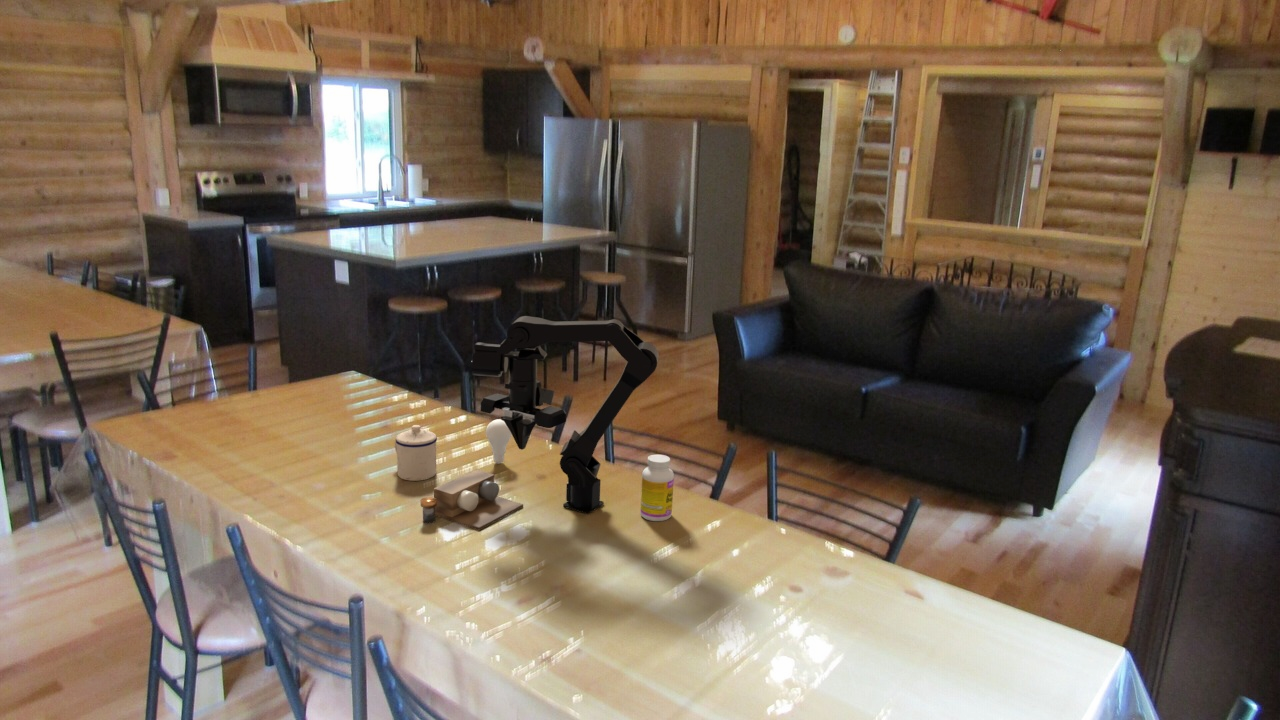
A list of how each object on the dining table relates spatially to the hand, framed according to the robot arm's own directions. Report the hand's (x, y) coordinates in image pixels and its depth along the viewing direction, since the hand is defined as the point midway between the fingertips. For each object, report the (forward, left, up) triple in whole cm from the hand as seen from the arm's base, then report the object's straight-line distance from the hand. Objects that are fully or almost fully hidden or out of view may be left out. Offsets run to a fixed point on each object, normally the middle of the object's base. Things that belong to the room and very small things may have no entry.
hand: (522, 448), depth 183 cm
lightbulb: (+18, -14, -12) cm, 26 cm away
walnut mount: (+4, +9, -12) cm, 16 cm away
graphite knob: (+8, +6, -11) cm, 14 cm away
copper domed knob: (+9, +18, -12) cm, 24 cm away
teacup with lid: (+30, +2, -12) cm, 32 cm away
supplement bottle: (-27, -11, -12) cm, 32 cm away
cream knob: (+7, +12, -10) cm, 18 cm away
